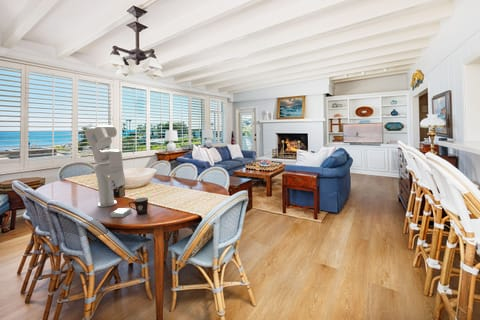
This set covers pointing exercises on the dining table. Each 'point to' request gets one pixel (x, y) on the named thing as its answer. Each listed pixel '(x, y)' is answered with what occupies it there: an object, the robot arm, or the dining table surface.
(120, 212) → the trivet
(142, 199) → the coffee mug
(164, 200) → the dining table surface
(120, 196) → the walnut block
